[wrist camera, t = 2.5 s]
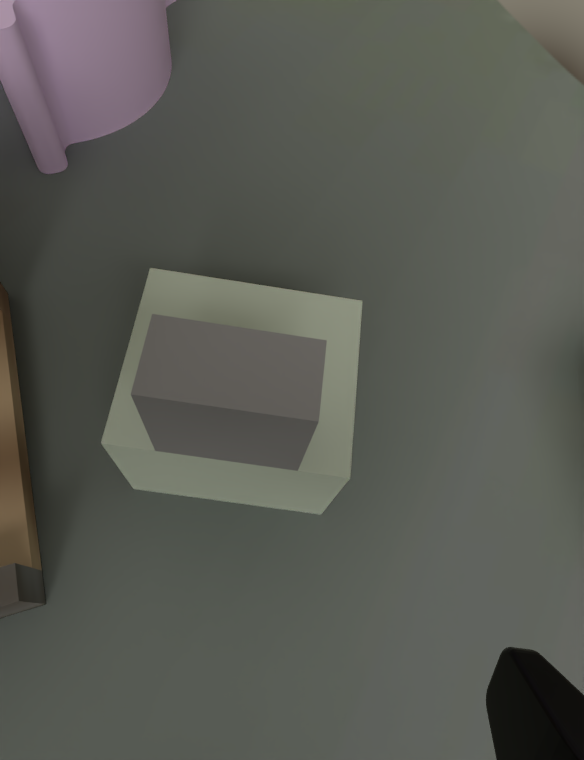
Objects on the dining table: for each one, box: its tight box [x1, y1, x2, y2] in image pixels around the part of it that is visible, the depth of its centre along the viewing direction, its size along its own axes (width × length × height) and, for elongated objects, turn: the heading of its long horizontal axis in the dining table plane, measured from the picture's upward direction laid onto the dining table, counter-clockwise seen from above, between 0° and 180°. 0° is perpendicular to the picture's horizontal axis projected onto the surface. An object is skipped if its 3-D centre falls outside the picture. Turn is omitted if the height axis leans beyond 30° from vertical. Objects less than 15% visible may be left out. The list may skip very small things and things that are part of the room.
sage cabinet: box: [101, 268, 362, 515], centre depth 17 cm, size 6×7×10 cm
